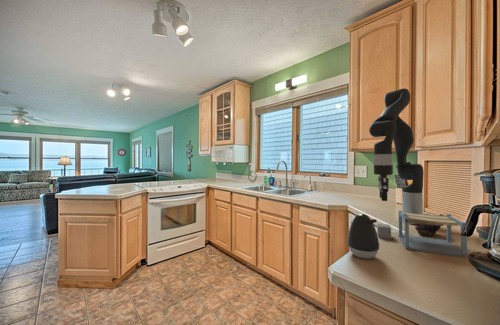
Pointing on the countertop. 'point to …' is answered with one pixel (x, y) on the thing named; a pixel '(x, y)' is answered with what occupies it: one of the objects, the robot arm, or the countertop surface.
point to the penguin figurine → (363, 237)
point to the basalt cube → (384, 231)
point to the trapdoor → (430, 219)
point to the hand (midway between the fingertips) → (383, 199)
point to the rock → (427, 229)
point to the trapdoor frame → (433, 240)
